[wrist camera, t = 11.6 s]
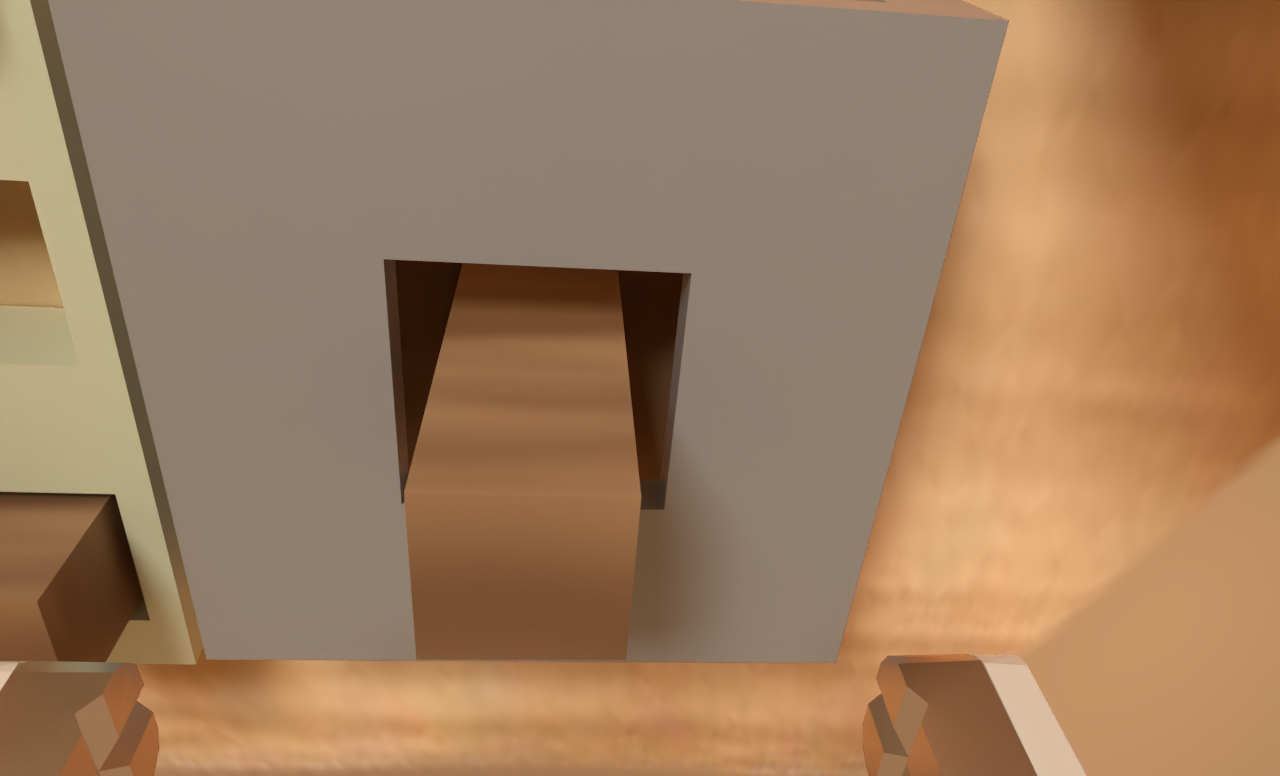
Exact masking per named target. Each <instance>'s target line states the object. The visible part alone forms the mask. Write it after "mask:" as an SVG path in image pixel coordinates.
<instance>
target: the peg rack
mask: <svg viewBox="0 0 1280 776" xmlns="http://www.w3.org/2000/svg"><path fill="white" fill-rule="evenodd" d="M0 180H12V181H28V182H29V186H30V189H31V193H32V196H33V200H34V204H35V207H36V211H37V214H38V218H39V222H40V225H41V229H42V232H43V236H44V240H45V243H46V247H47V250H48V254H49V258H50V261H51V265H52V268H53V272H54V276H55V279H56V283H57V286H58V290H59V294H60V297H61V301H62V304H63V308H58V307H33V306H8V305H0V492H35V493H81V494H115V496H116V499H117V503H118V506H119V510H120V514H121V517H122V521H123V524H124V528H125V532H126V535H127V539H128V542H129V546H130V550H131V553H132V557H133V560H134V564H135V568H136V571H137V575H138V578H139V582H140V586H141V589H142V593H143V597H142V599H141V600H140V602H139V604H138V606H137V608H136V609H135V611H134V613H133V615H132V616H131V618H130V620H129V622H128V624H127V625H126V627H125V629H124V631H123V632H122V634H121V636H120V638H119V640H118V641H117V643H116V645H115V647H114V648H113V650H112V652H111V654H110V656H109V657H108V659H107V661H106V662H118V663H134V664H185V665H196V663H197V661H198V659H199V657H200V655H201V652H202V650H203V648H204V647H203V643H202V639H201V635H200V631H199V626H198V622H197V618H196V614H195V610H194V606H193V601H192V597H191V593H190V589H189V585H188V581H187V577H186V572H185V568H184V564H183V560H182V556H181V552H180V547H179V543H178V539H177V535H176V531H175V527H174V522H173V518H172V514H171V510H170V506H169V502H168V498H167V493H166V489H165V485H164V481H163V477H162V473H161V468H160V464H159V460H158V456H157V452H156V448H155V443H154V439H153V435H152V431H151V427H150V423H149V419H148V414H147V410H146V406H145V402H144V398H143V394H142V389H141V385H140V381H139V377H138V373H137V369H136V365H135V360H134V356H133V352H132V348H131V344H130V340H129V335H128V331H127V327H126V323H125V319H124V315H123V310H122V306H121V302H120V298H119V294H118V290H117V286H116V281H115V277H114V273H113V269H112V265H111V261H110V256H109V252H108V248H107V244H106V240H105V236H104V231H103V227H102V223H101V219H100V215H99V211H98V207H97V202H96V198H95V194H94V190H93V186H92V182H91V177H90V173H89V169H88V165H87V161H86V157H85V152H84V148H83V144H82V140H81V136H80V132H79V128H78V123H77V119H76V115H75V111H74V107H73V103H72V98H71V94H70V90H69V86H68V82H67V78H66V74H65V69H64V65H63V61H62V57H61V53H60V49H59V44H58V40H57V36H56V32H55V28H54V24H53V19H52V15H51V11H50V7H49V3H48V0H0Z"/></svg>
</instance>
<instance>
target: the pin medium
mask: <svg viewBox="0 0 1280 776" xmlns="http://www.w3.org/2000/svg"><path fill="white" fill-rule="evenodd" d="M142 597H143V593H142V589H141V586H140V582H139V578H138V575H137V571H136V568H135V564H134V560H133V557H132V553H131V550H130V546H129V542H128V539H127V535H126V532H125V528H124V524H123V521H122V517H121V514H120V510H119V506H118V503H117V499H116V496H115V494H81V493H35V492H0V661H63V662H106V661H107V659H108V657H109V656H110V654H111V652H112V650H113V648H114V647H115V645H116V643H117V641H118V640H119V638H120V636H121V634H122V632H123V631H124V629H125V627H126V625H127V624H128V622H129V620H130V618H131V616H132V615H133V613H134V611H135V609H136V608H137V606H138V604H139V602H140V600H141V599H142Z"/></svg>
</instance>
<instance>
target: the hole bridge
mask: <svg viewBox="0 0 1280 776" xmlns="http://www.w3.org/2000/svg"><path fill="white" fill-rule="evenodd" d="M48 3H49V7H50V11H51V15H52V19H53V24H54V28H55V32H56V36H57V40H58V44H59V49H60V53H61V57H62V61H63V65H64V69H65V74H66V78H67V82H68V86H69V90H70V94H71V98H72V103H73V107H74V111H75V115H76V119H77V123H78V128H79V132H80V136H81V140H82V144H83V148H84V152H85V157H86V161H87V165H88V169H89V173H90V177H91V182H92V186H93V190H94V194H95V198H96V202H97V207H98V211H99V215H100V219H101V223H102V227H103V231H104V236H105V240H106V244H107V248H108V252H109V256H110V261H111V265H112V269H113V273H114V277H115V281H116V286H117V290H118V294H119V298H120V302H121V306H122V310H123V315H124V319H125V323H126V327H127V331H128V335H129V340H130V344H131V348H132V352H133V356H134V360H135V365H136V369H137V373H138V377H139V381H140V385H141V389H142V394H143V398H144V402H145V406H146V410H147V414H148V419H149V423H150V427H151V431H152V435H153V439H154V443H155V448H156V452H157V456H158V460H159V464H160V468H161V473H162V477H163V481H164V485H165V489H166V493H167V498H168V502H169V506H170V510H171V514H172V518H173V522H174V527H175V531H176V535H177V539H178V543H179V547H180V552H181V556H182V560H183V564H184V568H185V572H186V577H187V581H188V585H189V589H190V593H191V597H192V601H193V606H194V610H195V614H196V618H197V622H198V626H199V631H200V635H201V639H202V643H203V647H204V651H205V655H206V660H359V661H531V662H703V663H836V660H837V657H838V653H839V649H840V645H841V642H842V638H843V634H844V631H845V627H846V623H847V620H848V616H849V612H850V608H851V605H852V601H853V597H854V594H855V590H856V586H857V582H858V579H859V575H860V571H861V568H862V564H863V560H864V556H865V553H866V549H867V545H868V542H869V538H870V534H871V531H872V527H873V523H874V519H875V516H876V512H877V508H878V505H879V501H880V497H881V493H882V490H883V486H884V482H885V479H886V475H887V471H888V467H889V464H890V460H891V456H892V453H893V449H894V445H895V441H896V438H897V434H898V430H899V427H900V423H901V419H902V416H903V412H904V408H905V404H906V401H907V397H908V393H909V390H910V386H911V382H912V378H913V375H914V371H915V367H916V364H917V360H918V356H919V352H920V349H921V345H922V341H923V338H924V334H925V330H926V327H927V323H928V319H929V315H930V312H931V308H932V304H933V301H934V297H935V293H936V289H937V286H938V282H939V278H940V275H941V271H942V267H943V263H944V260H945V256H946V252H947V249H948V245H949V241H950V238H951V234H952V230H953V226H954V223H955V219H956V215H957V212H958V208H959V204H960V200H961V197H962V193H963V189H964V186H965V182H966V178H967V174H968V171H969V167H970V163H971V160H972V156H973V152H974V148H975V145H976V141H977V137H978V134H979V130H980V126H981V123H982V119H983V115H984V111H985V108H986V104H987V100H988V97H989V93H990V89H991V85H992V82H993V78H994V74H995V71H996V67H997V63H998V59H999V56H1000V52H1001V48H1002V45H1003V41H1004V37H1005V34H1006V30H1007V26H1008V22H1009V21H1008V20H1006V19H1004V18H1002V17H999V16H997V15H995V14H992V13H990V12H988V11H985V10H983V9H981V8H978V7H976V6H974V5H971V4H969V3H967V2H965V1H962V0H48ZM395 260H411V261H433V262H455V263H476V264H498V265H520V266H541V267H563V268H585V269H607V270H628V271H650V272H672V273H683V278H682V287H681V296H680V305H679V314H678V323H677V332H676V341H675V350H674V359H673V368H672V377H671V386H670V395H669V404H668V413H667V423H666V432H665V441H664V450H663V459H662V468H661V477H660V480H642V479H640V489H641V507H640V517H639V528H638V538H637V549H636V559H635V570H634V580H633V591H632V602H631V612H630V623H629V633H628V644H627V654H626V660H416V647H415V633H414V620H413V607H412V594H411V580H410V567H409V554H408V540H407V527H406V514H405V501H404V490H405V486H406V483H407V479H408V475H409V461H408V446H407V431H406V416H405V401H404V386H403V371H402V355H401V340H400V325H399V310H398V295H397V280H396V265H395Z"/></svg>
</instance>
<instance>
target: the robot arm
mask: <svg viewBox="0 0 1280 776" xmlns="http://www.w3.org/2000/svg"><path fill="white" fill-rule="evenodd" d="M876 679H877V682H878V685H879V687H880V690H881V693H882V694H880V695H879V696H878V697H876V698H875V699H874V700H873V701H871V702H870V703H869V704H868V707H867V710H866V714H865V718H864V722H863V751H864V757H865V762H866V768H867V771H868V774H869V776H1087V774H1086V772H1085V770H1084V769H1083V767H1082V765H1081V763H1080V761H1079V759H1078V757H1077V756H1076V754H1075V752H1074V750H1073V748H1072V747H1071V745H1070V743H1069V741H1068V739H1067V737H1066V736H1065V734H1064V732H1063V730H1062V728H1061V726H1060V725H1059V723H1058V721H1057V719H1056V717H1055V715H1054V714H1053V712H1052V710H1051V708H1050V706H1049V704H1048V703H1047V701H1046V699H1045V697H1044V695H1043V694H1042V692H1041V690H1040V688H1039V686H1038V684H1037V683H1036V681H1035V679H1034V677H1033V675H1032V673H1031V672H1030V670H1029V668H1028V666H1027V664H1026V662H1025V661H1024V660H1022V659H1021V658H1020V657H1019V656H1018V655H1017V654H1014V655H969V654H950V655H901V656H887V657H886V658H885V659H884V660H883V661H882V662H881V665H880V668H879V671H878V674H877V677H876ZM143 685H144V684H143V681H142V679H141V676H140V674H139V671H138V669H137V666H136V664H134V663H118V662H63V661H0V776H154V773H155V768H156V762H157V757H158V752H159V737H158V726H157V723H156V720H155V717H154V713H153V712H152V711H150V710H149V709H147V708H146V707H145V706H143V705H142V704H140V703H139V702H138V701H136V700H137V698H138V696H139V694H140V692H141V690H142V688H143Z"/></svg>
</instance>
